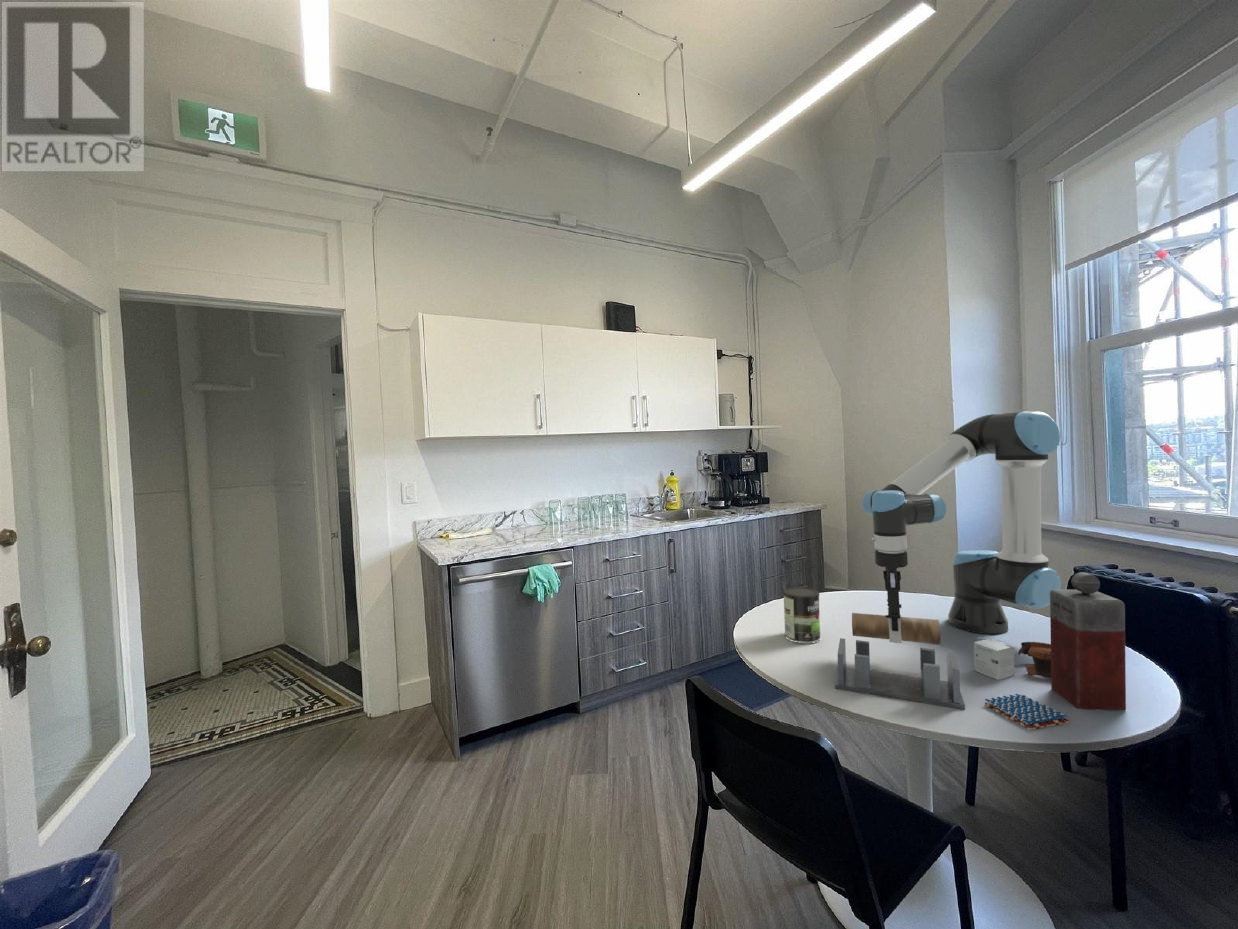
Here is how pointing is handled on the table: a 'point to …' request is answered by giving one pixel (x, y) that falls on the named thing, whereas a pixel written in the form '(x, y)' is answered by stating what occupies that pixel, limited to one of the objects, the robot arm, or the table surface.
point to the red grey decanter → (1088, 645)
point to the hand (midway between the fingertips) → (895, 637)
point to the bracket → (901, 678)
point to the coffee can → (801, 614)
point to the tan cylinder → (910, 628)
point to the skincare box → (994, 659)
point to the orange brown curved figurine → (1038, 658)
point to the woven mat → (1026, 711)
